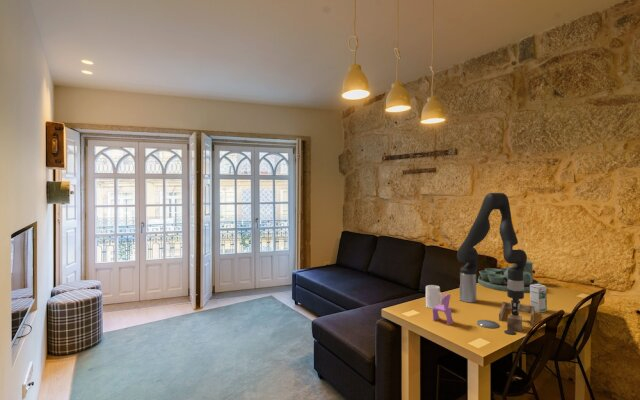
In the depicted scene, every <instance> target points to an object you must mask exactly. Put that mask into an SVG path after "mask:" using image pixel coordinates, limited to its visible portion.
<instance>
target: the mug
mask: <svg viewBox="0 0 640 400" xmlns="http://www.w3.org/2000/svg"><path fill="white" fill-rule="evenodd" d="M444 296H445V295H444V294H443V293H442V292H441V287H440V286H439V285H435V284H429V285H426V286H425V296H424V297H425V307H426V308H427V307H428V308H427V309H430V308H431V309H432V310H433V307H436V306H438V305H443V304H442V303H441V301H442V298H443V297H444ZM443 306H444V305H443ZM431 309H430V310H431Z"/></svg>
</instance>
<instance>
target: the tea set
mask: <svg viewBox="0 0 640 400" xmlns="http://www.w3.org/2000/svg"><path fill="white" fill-rule="evenodd" d="M533 264H534V261H531V260H527V261H526V265H525V268H524V271H523V282H524V293H530V285H533V284H541V285H542V283H541V282H540V281H538V280H537V279H534V276H533V275H534V274H533ZM513 266H514V265H511V266H508V265H506V266H505V267H504V268H503V267H502V268H500V269H499V268H493V267H492V268H491V267H487V268H484V270H480V271H478V272H479V276H478V278H477V283H478V284H479V285H481V286H483V287H485V288H489V289H492V290H495V291H503V292H507V281H508V269H509V268H511V267H513Z"/></svg>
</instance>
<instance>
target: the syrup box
mask: <svg viewBox="0 0 640 400" xmlns="http://www.w3.org/2000/svg"><path fill="white" fill-rule="evenodd" d="M529 298H530V299H529V300H530V301H529V302H530V305H529V306H534V311H535V312H536V313H545V312H547V311H548V308H547V307H548V305H547V304H548V301H547V300H548V299H547V286H546V285H544V284H542V283H541V284H533V285H530V292H529Z"/></svg>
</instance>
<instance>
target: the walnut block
mask: <svg viewBox="0 0 640 400" xmlns="http://www.w3.org/2000/svg"><path fill="white" fill-rule="evenodd" d="M506 324H507V325H506V329H507V330H510V331H514V332H516V333H522V332H523V316H522V315H519V316H516V315H512V314H511V313H510V314H509V313H508V314H507V318H506Z"/></svg>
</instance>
